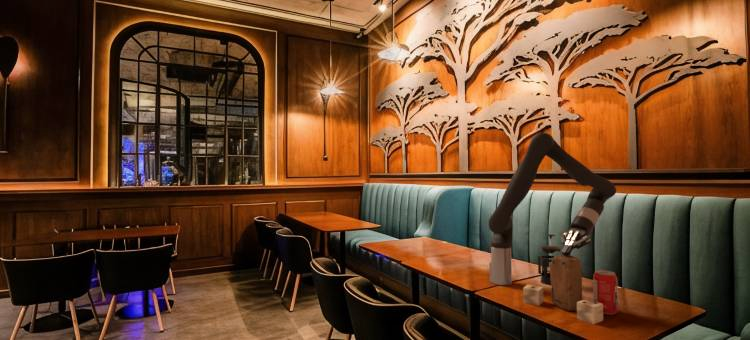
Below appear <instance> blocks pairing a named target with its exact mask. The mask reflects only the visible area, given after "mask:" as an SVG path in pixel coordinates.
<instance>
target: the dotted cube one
mask: <svg viewBox="0 0 750 340" xmlns="http://www.w3.org/2000/svg"><path fill="white" fill-rule="evenodd" d="M522 299H523V300H522V303H524V304H528V305H532V306H533V305H534V306H541V304H542V303H543V302H544V287H543V286H537V285H533V284H526V285H525V286H524V287H523V288H522Z"/></svg>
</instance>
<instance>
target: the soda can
mask: <svg viewBox="0 0 750 340" xmlns="http://www.w3.org/2000/svg"><path fill="white" fill-rule="evenodd" d="M618 282H619V281H618V277H617V275H616V272H614V271H612V270H605V269H597V270H594V273H593V275H592V296H593V297H592V299H593V300H592V301H595V302H598V303H602V304H603V315H608V316H609V315H610V316H611V315H615V314H618V312H619V293H618V291H619V289H618V288H619V287H618V285H619V284H618Z"/></svg>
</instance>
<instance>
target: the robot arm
mask: <svg viewBox="0 0 750 340" xmlns="http://www.w3.org/2000/svg"><path fill="white" fill-rule="evenodd" d="M545 157H548V158H549V159H551V161H554V162H555V163H556V164H557V165H558V166H559V167H560V168H561V169H562V170H563V171H564V172H565V173H566V174H567V175H568V176H569V177H570V178H571V179H573V180H574V181H576V182H577V183H578V184H579V185H580V186H582V187H588V186H589V187H591V188H592V189H591V190H590V191H589V193H588V195H587V198H586V201H585V202H584V204H583V206H582V207H581V208H580V209H579V211H578V212H577V214H576V215H575V217H574V218H573V220H572V221H571V223H570V228H569V229H567V231H566V232H564V233H563V232H560V233H559V236H560V241H561V243H562V245H563V248H562V249H561V255H564V256H568V255H571V253H572V251H573V250H575V249H577V250H579V249H581V248H583V247H584V246H586V245H588V244H590V243H592V239H590V237H589V235H590V234H591V233H592V231H593V230H594V227H595V226H596V225H597V223H598V220H599V219H600V217H601V215H602V213H603V212H604V208H605V205H604V204H605V203H606V202H607V201H608V200H610V199H611V198H612V197H613V196H615V195H616V193H617V188H616V186H615V185H614V183H613V182H612V181H610V180H609V179H607V178H605V177H603V176H601V175H599V174H596V173H594V172H593V171H591V169H589V168H588V167H587V166H586V165H584V164H583V163H582V162H580V161H579V160H578V159H576V158H575V157H573V156H572V155H570V154H569V152H567V151H566V150H564V149H563V147H561V146H560V145H559V143H558V142H557V141H556V140H555V139H554V137H553V136H552V135H551V134H549V133H548V132H538V133H536V134H534V135H533V136H532V138H531V140H530V141H529V144H528V147H527V150H526V152H525V155H524V157H523V158H522V160H521V162H520V164H519V165H518V166H517V168H516V169H515V171H514V173H513V175H512V177H511V179H510V181H509V183H508V185H507V187H506V189H505V191H504V193H503V195H502V198H501V200H500V202H499V204H498V205H497V207H496V208H495V210H494V211H493V213H492V214H491V216H490V217H489V219H488V228H489V230H490V231H491V232H492V233H493V235H492V238H491V240H490V261H489V263H488V264H489V282H490V283H492V284H494V285H497V286H510V285H512V283H513V281H512V280H513V278H512V277H513V276H512V275H513V273H512V272H513V271H512V270H513V269H512V243H513V233H514V232H513V228H514V227H513V219H512V215H513V213H514V212H515V210H516V209H517V208H518V206H519V205H520V204H521V203H522V202H523V200H524V199H525V198H526V197H527V195H528V193H529V192H530V190H531V188H532V186H533V184H534V182H535V179H536V176H537V173H538V170H539V167H540V165H541V164H542V162H543V160H544V159H545Z"/></svg>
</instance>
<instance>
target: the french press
mask: <svg viewBox="0 0 750 340" xmlns="http://www.w3.org/2000/svg"><path fill="white" fill-rule="evenodd" d="M545 236H546V237H549V241H550V242H549V243H550V245H541V246H540V248H541V252H542V253H544V254H555V252H558V253H561V250H562V247H560V246H557V245H556V246H555V245H552V239H553V237H556V235H555V234H553V233H552V234H550V233H549V234H545ZM555 256H556V255H538V256H537V263H538V265H537V268H538V269H537V271H538V273H537V274H538V275H540V283H541V284H544V285H547V286H551V279H550V266H548V263H551V261H552V259H553V258H554V257H555Z"/></svg>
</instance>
